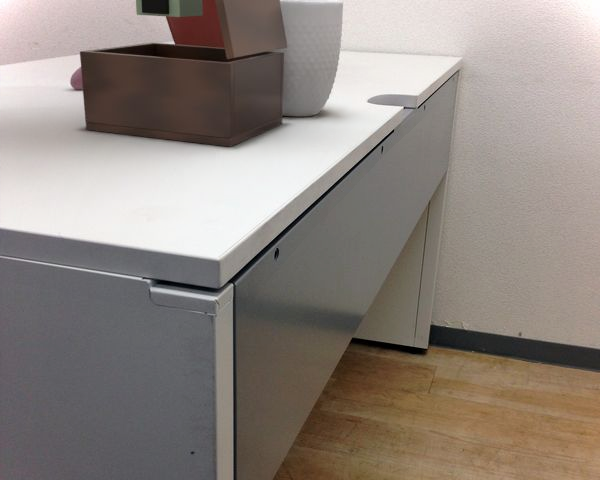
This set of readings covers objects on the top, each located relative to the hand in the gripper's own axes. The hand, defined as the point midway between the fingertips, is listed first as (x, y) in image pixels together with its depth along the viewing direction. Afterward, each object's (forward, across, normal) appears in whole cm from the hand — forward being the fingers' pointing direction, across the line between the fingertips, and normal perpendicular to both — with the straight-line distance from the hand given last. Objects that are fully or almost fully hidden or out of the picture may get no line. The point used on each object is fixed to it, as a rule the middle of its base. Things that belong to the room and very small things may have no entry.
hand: (169, 12), depth 75 cm
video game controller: (+12, -15, -19) cm, 27 cm away
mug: (+12, -16, +8) cm, 21 cm away
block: (0, 0, 0) cm, 0 cm away
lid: (-5, 0, +8) cm, 9 cm away
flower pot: (+12, -52, -17) cm, 56 cm away
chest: (+12, 0, +2) cm, 12 cm away
